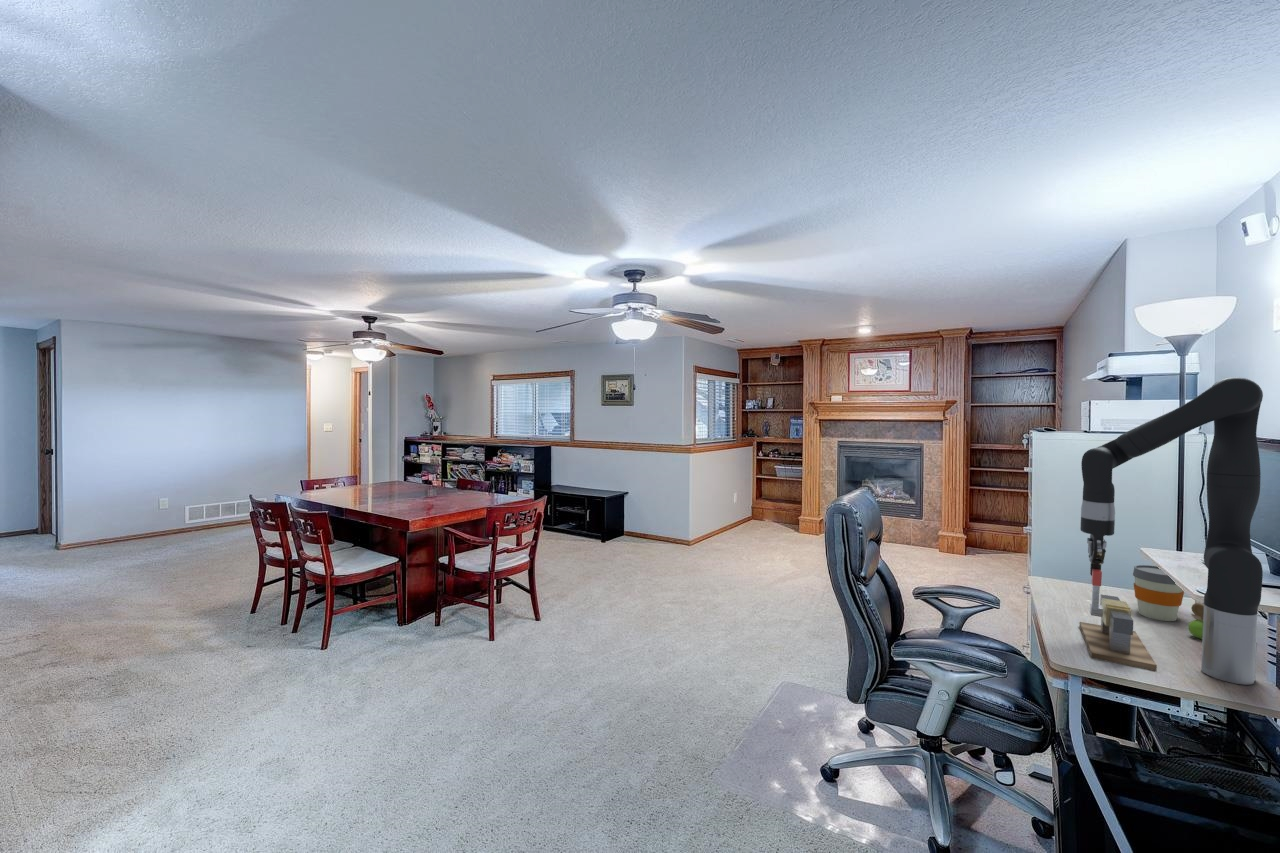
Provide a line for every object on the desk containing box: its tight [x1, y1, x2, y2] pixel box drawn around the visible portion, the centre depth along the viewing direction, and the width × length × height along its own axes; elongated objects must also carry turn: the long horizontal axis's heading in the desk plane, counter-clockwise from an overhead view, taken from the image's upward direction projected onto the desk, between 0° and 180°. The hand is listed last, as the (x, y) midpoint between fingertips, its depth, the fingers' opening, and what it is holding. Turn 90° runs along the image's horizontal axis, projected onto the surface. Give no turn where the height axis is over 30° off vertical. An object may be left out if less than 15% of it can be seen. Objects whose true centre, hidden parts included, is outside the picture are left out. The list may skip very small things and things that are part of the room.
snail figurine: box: [1187, 602, 1204, 640], centre depth 162 cm, size 5×6×12 cm
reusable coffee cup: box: [1132, 564, 1185, 622], centre depth 180 cm, size 12×13×15 cm
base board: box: [1078, 621, 1158, 672], centre depth 156 cm, size 26×13×2 cm, turn 147°
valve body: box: [1099, 594, 1134, 654], centre depth 156 cm, size 22×5×11 cm, turn 147°
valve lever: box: [1089, 569, 1103, 618], centre depth 158 cm, size 2×3×13 cm
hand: (1095, 576), depth 160 cm, fingers closed
